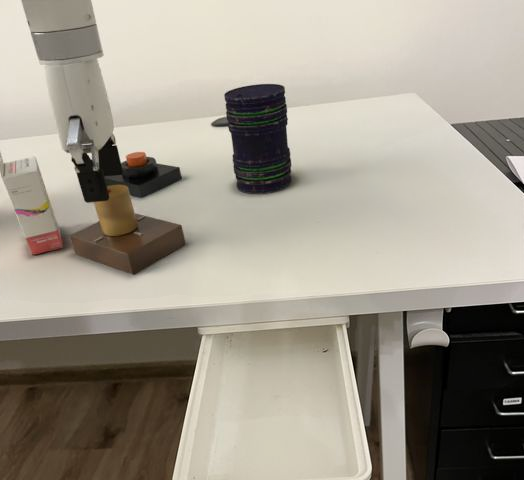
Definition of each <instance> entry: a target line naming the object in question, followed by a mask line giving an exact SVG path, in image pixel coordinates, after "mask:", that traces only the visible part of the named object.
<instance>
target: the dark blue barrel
mask: <svg viewBox="0 0 524 480" xmlns="http://www.w3.org/2000/svg"><path fill="white" fill-rule="evenodd" d="M285 94H286V88H285V86H284V85H282V84H277V83H259V84H258V83H257V84H251V85H245V86H240V87H239V86H238V87H235V88H233V89H230V90H228V91H226V92H225V93H224V94H223V96H224V101H225V110H226V111H225V114H226V120H227V128H228V132H230V137H231V144H232V150H233V151H232V152H233V154H232V164H233V173H234V175H235V179H236V188H237V190H238V191H240V192H242V193H245V194H248V195H249V194H250V195H263V194H271V193H276V192H279V191H282V190H284V189H286V188H288V187H290V185H291V184H292V182H293V177H292V175H291V174H292V158H291V149H290V147H289V144H288V132H287V127H288V124H289V123H288V120H289V118H288V114H287V113H288V105H287V103H286V102H287V99H286V96H285Z"/></svg>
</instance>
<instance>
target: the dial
mask: <svg viewBox="0 0 524 480" xmlns="http://www.w3.org/2000/svg"><path fill="white" fill-rule="evenodd" d="M107 189H108V192H109V200H108V201H100V202H93V204H94V208H95V211H96V214H97V217H98V222H99V221H100V225H101V228H102V231H103V233H104V234H105V235H108V236H119V235H124V234H127V233H130V232H132V231H134V230H135V229H136V228H137V226H138V224H137V220H136V216H135V213H136V212H135V209H134V204H133V201H132V195H130V193H129V189H128V187H127V186H125V185H110V186H107Z"/></svg>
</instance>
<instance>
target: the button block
mask: <svg viewBox="0 0 524 480" xmlns="http://www.w3.org/2000/svg"><path fill="white" fill-rule="evenodd" d="M146 158H147V162H148V163H146V164H144V165H140V166H133V167H130V166H128V164H127V160H126V159H125V161H122V162H121V165H122V169H123V173H122V174H121V175H115V176H104V177H105V181H106V185H107V186H110V185H125V186H127V187H128V189H129V193H130V196H131V197H137V198H141V199H142V198H144V197H147V196H148V195H151V194H153V193H155V192H157V191H159V190H161V189H164V188H165V187H168V186H170V185H172V184H175V183H176V182H178V181H180V180H182V179H183V178H182V173H181V168H180V166H174V165H169V164H163V163H158V162H157V160H156V158H155V157H152V156H146Z"/></svg>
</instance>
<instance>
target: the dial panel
mask: <svg viewBox="0 0 524 480" xmlns="http://www.w3.org/2000/svg"><path fill="white" fill-rule="evenodd" d="M135 216H136V220H137V224H138V226H137V228H136V229H135V230H134V231H132V232H130V233H127V234H124V235H119V236H108V235H105V234H104V233H103V231H102V228H101V225H100V221H99V220H98V222H95V223H93V224H91V225H88V226H86V227H84V228H82V229H80V230H78V231H76V232H74V233H72V234H69V239H70V242H71V244H72V248H73V251H74V254H75V255H76V256H79V257H83V258H85V259H87V260H91V261H93V262H97V263H98V264H102V265H105V266H109V267H110V268H113V269H116V270H119V271H122V272H125V273H128V274H131V275H135V274H137V273H138V272H140V271H142V270H144V269H145V268H147V267H149V266H151V265H152V264H154V263H155V262H157V261H159V260H161V259H163V258H164V257H166V256H168V255H170V254H171V253H173V252H175V251H176V250H178V249H180V248H182V247H183V246H185V245H186V239H185V233H184V229H183V225H182V224H179V223H176V222H171V221H167V220H164V219H160V218H157V217H152V216H148V215H143V214H139V213H136V212H135Z"/></svg>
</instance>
